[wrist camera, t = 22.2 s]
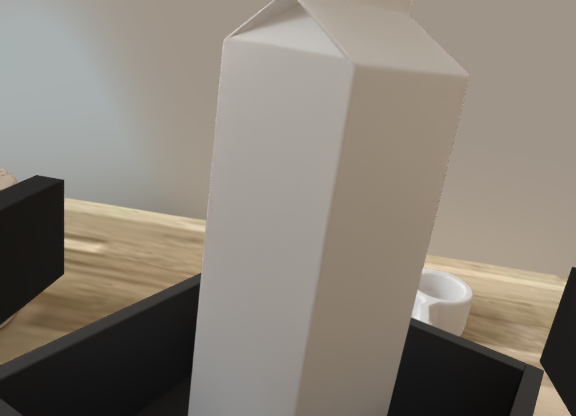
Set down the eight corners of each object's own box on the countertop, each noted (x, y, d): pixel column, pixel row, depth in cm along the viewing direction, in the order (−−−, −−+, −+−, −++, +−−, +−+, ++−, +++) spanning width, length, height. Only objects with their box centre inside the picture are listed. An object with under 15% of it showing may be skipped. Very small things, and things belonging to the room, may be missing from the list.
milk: (366, 504, 23) (503, -27, 16) (263, 586, 19) (387, -75, 12) (277, 421, 27) (356, -32, 20) (177, 475, 23) (232, -69, 16)
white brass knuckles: (210, 328, 37) (268, 253, 50) (473, 398, 33) (458, 297, 47) (215, 285, 35) (273, 221, 49) (486, 353, 32) (468, 263, 46)
